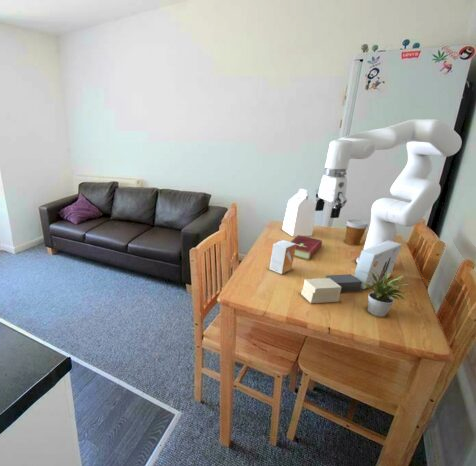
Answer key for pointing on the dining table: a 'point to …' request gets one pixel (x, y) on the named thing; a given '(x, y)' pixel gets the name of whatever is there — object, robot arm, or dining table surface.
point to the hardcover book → (306, 246)
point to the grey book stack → (346, 282)
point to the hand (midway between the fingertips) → (326, 214)
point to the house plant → (382, 295)
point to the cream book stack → (320, 296)
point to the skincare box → (377, 262)
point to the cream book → (322, 285)
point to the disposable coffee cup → (355, 231)
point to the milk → (300, 215)
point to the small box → (282, 256)
